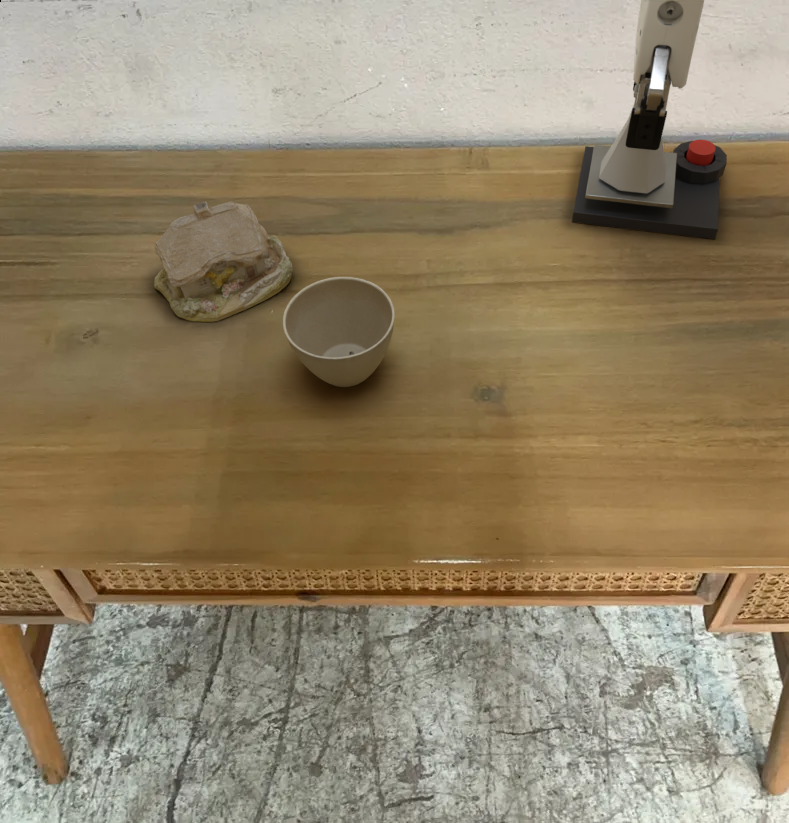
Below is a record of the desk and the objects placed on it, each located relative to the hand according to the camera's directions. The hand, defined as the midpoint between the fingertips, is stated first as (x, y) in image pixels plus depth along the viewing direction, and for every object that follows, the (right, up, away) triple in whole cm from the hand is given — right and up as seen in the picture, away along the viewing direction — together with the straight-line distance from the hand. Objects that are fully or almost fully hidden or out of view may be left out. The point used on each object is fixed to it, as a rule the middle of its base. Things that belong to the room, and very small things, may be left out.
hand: (645, 118), depth 84 cm
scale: (+3, -6, +8) cm, 10 cm away
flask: (0, -4, +6) cm, 7 cm away
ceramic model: (-43, -16, +4) cm, 46 cm away
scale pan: (0, -4, +6) cm, 7 cm away
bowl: (-30, -26, -5) cm, 40 cm away
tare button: (+8, -2, +8) cm, 12 cm away
